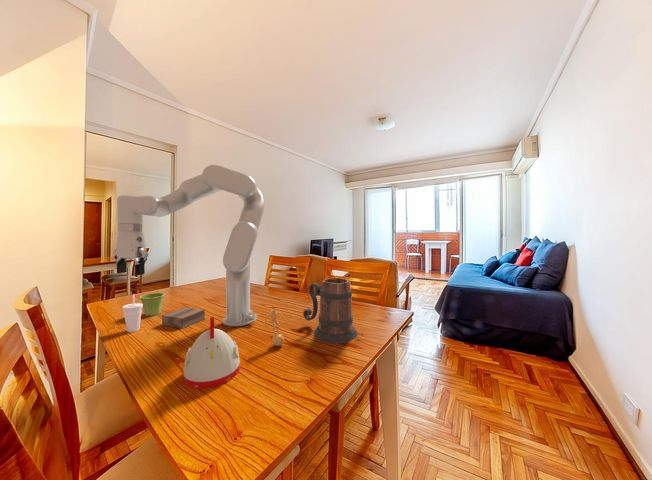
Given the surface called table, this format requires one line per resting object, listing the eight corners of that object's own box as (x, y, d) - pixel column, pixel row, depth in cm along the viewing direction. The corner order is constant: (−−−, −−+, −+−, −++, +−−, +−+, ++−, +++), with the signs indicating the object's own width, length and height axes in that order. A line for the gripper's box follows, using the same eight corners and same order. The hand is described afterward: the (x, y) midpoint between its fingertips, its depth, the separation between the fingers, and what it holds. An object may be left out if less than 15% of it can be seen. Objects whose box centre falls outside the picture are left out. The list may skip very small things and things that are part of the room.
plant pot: (169, 313, 117) (168, 294, 117) (145, 319, 109) (145, 299, 109) (159, 309, 122) (158, 291, 122) (136, 315, 114) (135, 296, 114)
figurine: (270, 352, 80) (270, 314, 79) (260, 346, 84) (260, 310, 84) (291, 343, 86) (291, 308, 85) (280, 338, 90) (280, 305, 90)
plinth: (204, 319, 109) (204, 310, 109) (183, 328, 99) (182, 318, 98) (185, 316, 113) (185, 307, 112) (162, 325, 102) (162, 315, 102)
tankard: (365, 330, 97) (366, 279, 96) (343, 347, 83) (343, 287, 83) (317, 318, 111) (317, 273, 110) (290, 331, 97) (290, 279, 96)
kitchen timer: (180, 394, 60) (179, 331, 59) (186, 365, 72) (185, 313, 72) (242, 380, 65) (241, 323, 64) (237, 355, 78) (237, 307, 77)
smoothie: (132, 334, 93) (131, 296, 92) (118, 332, 94) (117, 295, 94) (147, 327, 99) (146, 292, 99) (134, 326, 101) (133, 291, 100)
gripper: (156, 229, 96) (156, 273, 97) (125, 228, 102) (125, 270, 102) (136, 229, 89) (136, 277, 90) (103, 228, 94) (104, 273, 95)
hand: (130, 273), depth 96 cm, fingers open, 9 cm apart
